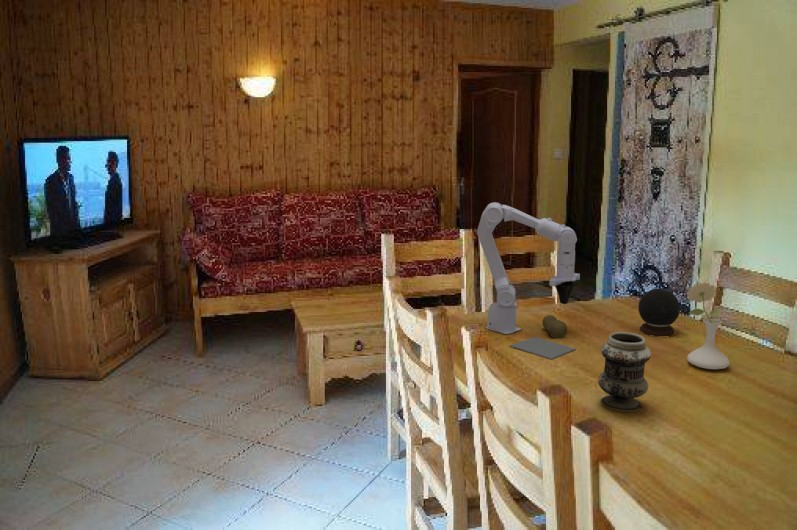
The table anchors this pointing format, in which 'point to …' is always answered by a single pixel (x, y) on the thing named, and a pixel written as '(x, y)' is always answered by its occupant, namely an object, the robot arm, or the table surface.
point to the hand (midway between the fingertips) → (563, 303)
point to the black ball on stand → (658, 312)
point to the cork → (554, 326)
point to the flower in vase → (707, 331)
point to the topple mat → (542, 348)
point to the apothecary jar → (624, 371)
